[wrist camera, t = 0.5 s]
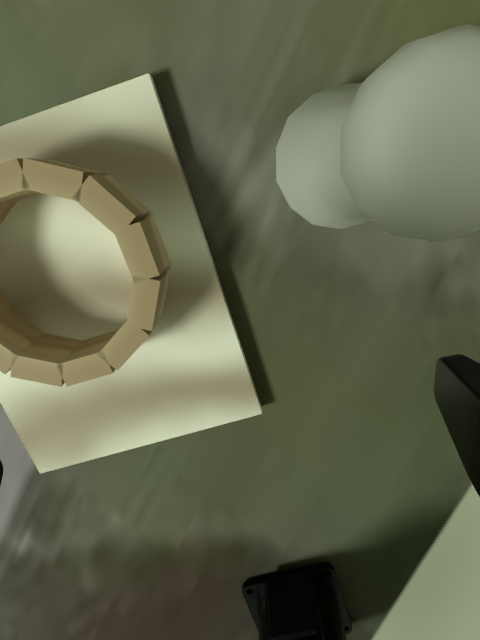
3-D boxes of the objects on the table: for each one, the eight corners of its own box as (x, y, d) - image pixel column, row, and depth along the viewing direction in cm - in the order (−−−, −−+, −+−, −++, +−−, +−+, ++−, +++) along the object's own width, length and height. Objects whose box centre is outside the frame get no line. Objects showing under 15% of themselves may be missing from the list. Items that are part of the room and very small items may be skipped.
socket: (261, 406, 25) (265, 445, 21) (45, 464, 26) (14, 510, 23) (152, 77, 19) (132, 54, 16) (-115, 172, 21) (-190, 171, 17)
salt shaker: (319, 246, 22) (423, 335, 10) (246, 158, 20) (257, 127, 8) (413, 166, 21) (672, 150, 8) (342, 67, 19) (528, -131, 7)
